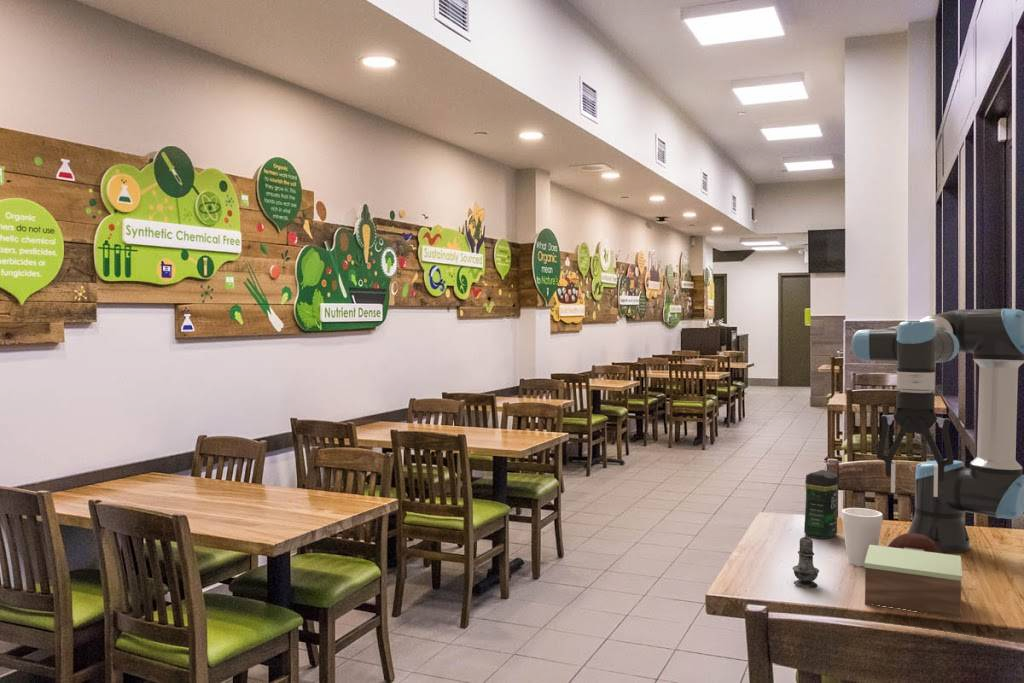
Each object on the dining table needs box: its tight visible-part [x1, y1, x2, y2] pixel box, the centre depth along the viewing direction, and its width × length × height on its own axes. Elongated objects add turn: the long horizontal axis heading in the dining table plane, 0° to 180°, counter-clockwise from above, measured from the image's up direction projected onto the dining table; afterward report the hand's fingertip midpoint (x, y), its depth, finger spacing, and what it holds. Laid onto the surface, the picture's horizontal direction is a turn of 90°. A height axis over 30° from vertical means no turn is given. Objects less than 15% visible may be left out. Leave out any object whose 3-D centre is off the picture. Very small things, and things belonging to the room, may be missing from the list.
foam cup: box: [841, 507, 884, 567], centre depth 198 cm, size 10×9×13 cm
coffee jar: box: [803, 469, 839, 539], centre depth 224 cm, size 10×8×19 cm
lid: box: [863, 545, 963, 582], centre depth 172 cm, size 15×18×2 cm
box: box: [864, 567, 962, 620], centre depth 171 cm, size 14×18×8 cm
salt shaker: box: [791, 533, 820, 589], centre depth 182 cm, size 6×6×12 cm
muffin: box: [887, 532, 943, 554], centre depth 188 cm, size 12×11×10 cm
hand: (914, 493), depth 173 cm, fingers open, 8 cm apart
